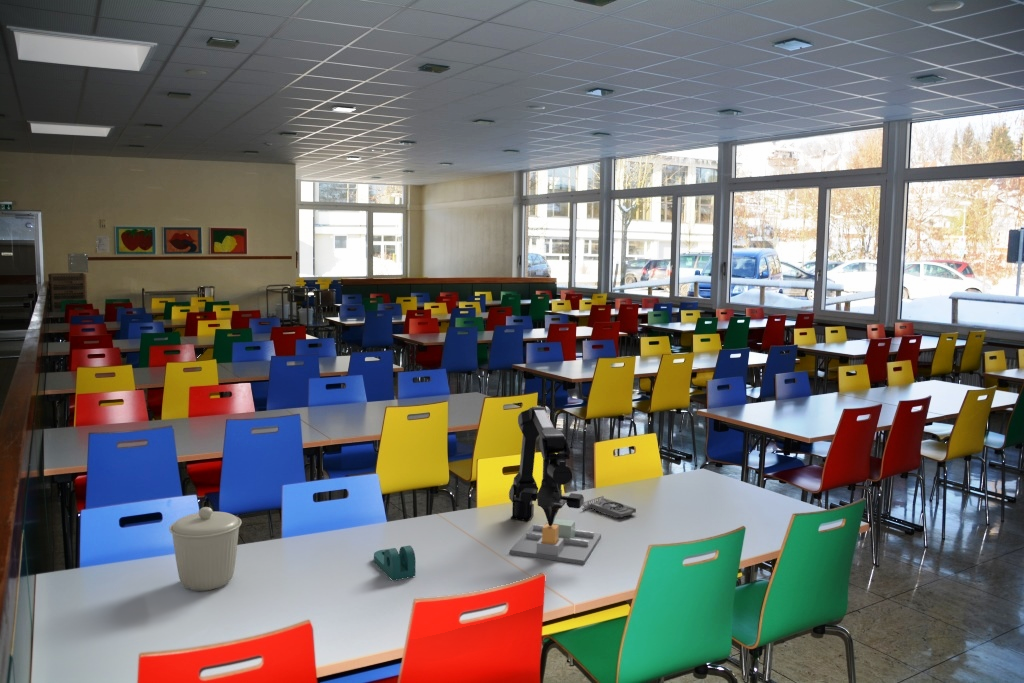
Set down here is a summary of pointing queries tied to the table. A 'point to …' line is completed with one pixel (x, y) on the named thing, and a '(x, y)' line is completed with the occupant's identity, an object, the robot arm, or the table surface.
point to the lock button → (550, 534)
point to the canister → (205, 548)
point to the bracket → (396, 562)
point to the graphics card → (609, 507)
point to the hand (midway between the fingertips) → (550, 525)
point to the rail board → (556, 546)
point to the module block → (565, 528)
